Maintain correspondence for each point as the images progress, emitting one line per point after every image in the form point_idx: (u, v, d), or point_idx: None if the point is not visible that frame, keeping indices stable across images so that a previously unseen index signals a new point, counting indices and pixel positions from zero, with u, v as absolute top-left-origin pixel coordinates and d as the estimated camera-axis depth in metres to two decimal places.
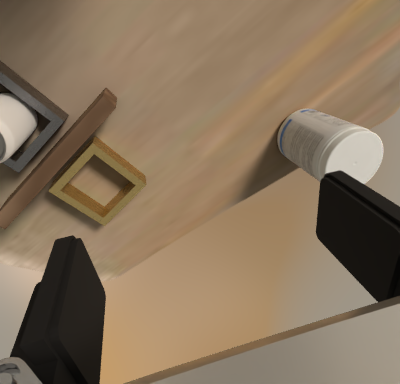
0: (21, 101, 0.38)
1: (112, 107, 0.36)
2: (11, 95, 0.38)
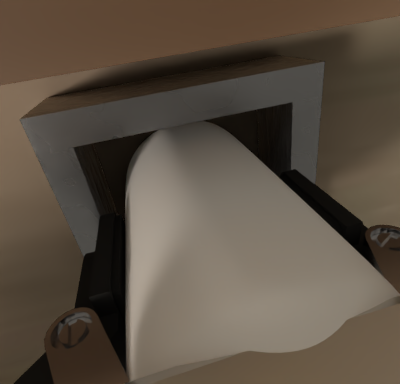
0: None
1: None
2: None
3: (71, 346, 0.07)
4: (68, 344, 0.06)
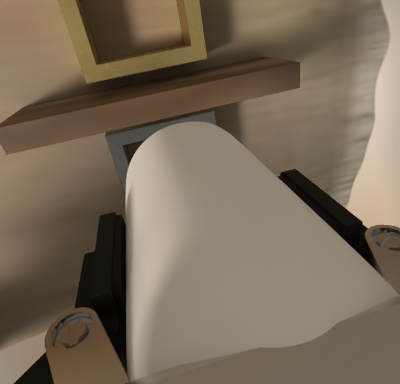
0: None
1: None
2: None
3: (72, 346, 0.07)
4: (68, 344, 0.06)
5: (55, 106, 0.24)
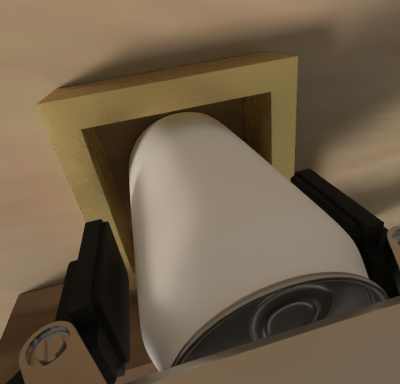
0: None
1: None
2: None
3: (49, 362, 0.06)
4: (45, 361, 0.06)
5: None
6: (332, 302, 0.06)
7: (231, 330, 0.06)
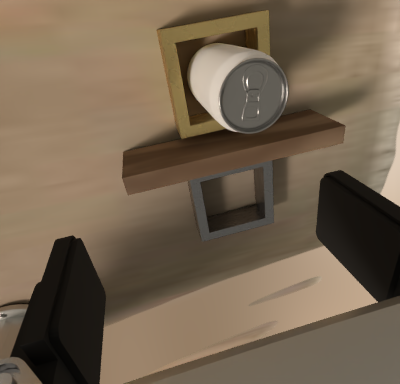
0: (190, 86, 0.30)
1: (125, 180, 0.28)
2: None
3: None
4: None
5: (155, 154, 0.32)
6: (268, 75, 0.21)
7: (237, 79, 0.21)
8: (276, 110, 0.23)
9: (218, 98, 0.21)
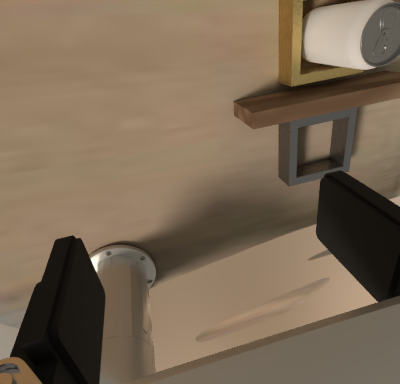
0: (302, 41, 0.36)
1: (254, 115, 0.34)
2: (302, 51, 0.37)
3: None
4: None
5: (267, 100, 0.38)
6: (398, 17, 0.28)
7: (377, 20, 0.27)
8: (398, 48, 0.29)
9: (360, 35, 0.28)
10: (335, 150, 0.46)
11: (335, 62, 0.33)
